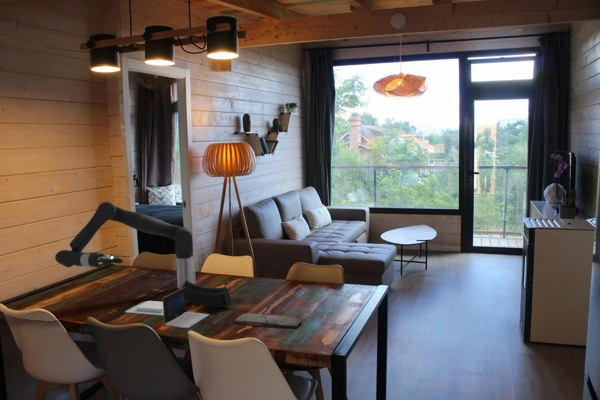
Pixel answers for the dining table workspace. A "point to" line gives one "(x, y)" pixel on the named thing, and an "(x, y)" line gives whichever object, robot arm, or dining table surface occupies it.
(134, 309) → the mat
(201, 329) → the dining table surface
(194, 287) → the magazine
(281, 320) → the stone slab
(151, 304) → the tile
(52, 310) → the dining table surface
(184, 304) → the laptop
